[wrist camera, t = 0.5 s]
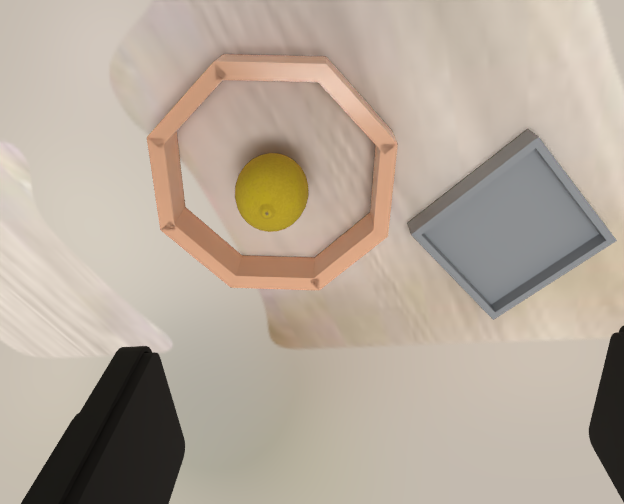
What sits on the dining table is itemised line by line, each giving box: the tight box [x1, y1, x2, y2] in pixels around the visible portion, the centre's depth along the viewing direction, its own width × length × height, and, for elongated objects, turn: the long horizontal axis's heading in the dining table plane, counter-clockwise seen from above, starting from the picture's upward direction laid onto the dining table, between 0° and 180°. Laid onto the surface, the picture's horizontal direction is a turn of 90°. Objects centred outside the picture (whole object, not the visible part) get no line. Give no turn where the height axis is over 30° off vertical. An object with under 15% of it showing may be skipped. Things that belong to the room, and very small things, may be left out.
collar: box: [147, 54, 398, 290], centre depth 39 cm, size 18×18×4 cm
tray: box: [407, 129, 617, 320], centre depth 42 cm, size 12×12×2 cm
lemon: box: [235, 153, 308, 232], centre depth 37 cm, size 6×6×8 cm
